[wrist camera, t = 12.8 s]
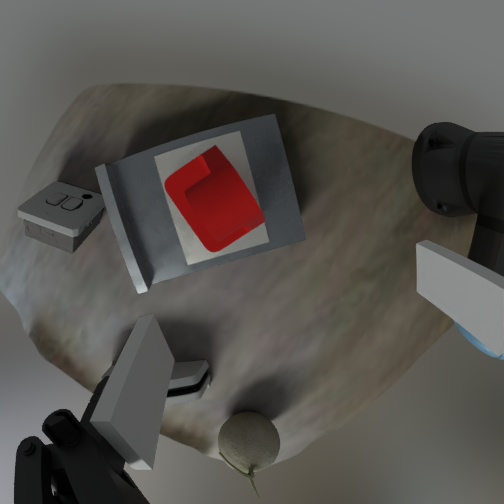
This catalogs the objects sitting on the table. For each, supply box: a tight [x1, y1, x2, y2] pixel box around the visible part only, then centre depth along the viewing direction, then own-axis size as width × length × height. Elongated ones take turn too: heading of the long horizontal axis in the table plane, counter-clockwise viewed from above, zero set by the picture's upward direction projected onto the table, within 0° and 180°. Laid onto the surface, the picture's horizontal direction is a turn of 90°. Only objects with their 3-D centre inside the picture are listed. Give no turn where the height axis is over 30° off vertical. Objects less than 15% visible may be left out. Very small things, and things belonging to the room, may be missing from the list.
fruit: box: [218, 412, 280, 498], centre depth 39 cm, size 10×12×15 cm
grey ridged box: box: [95, 114, 306, 294], centre depth 31 cm, size 19×14×8 cm
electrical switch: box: [18, 181, 106, 254], centre depth 29 cm, size 9×5×9 cm, turn 70°
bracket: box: [164, 145, 265, 252], centre depth 24 cm, size 9×6×10 cm
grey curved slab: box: [101, 360, 211, 405], centre depth 38 cm, size 17×5×10 cm, turn 96°
